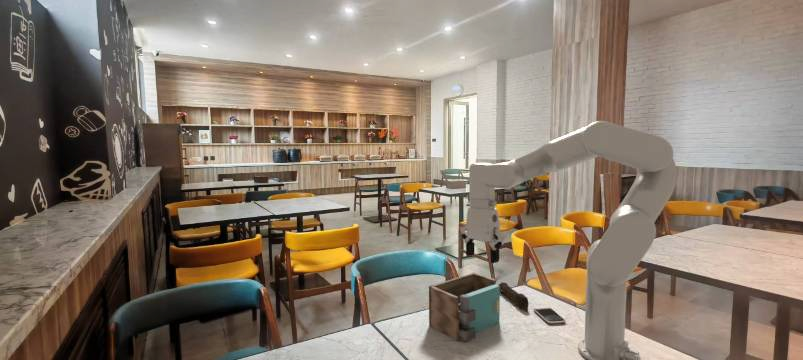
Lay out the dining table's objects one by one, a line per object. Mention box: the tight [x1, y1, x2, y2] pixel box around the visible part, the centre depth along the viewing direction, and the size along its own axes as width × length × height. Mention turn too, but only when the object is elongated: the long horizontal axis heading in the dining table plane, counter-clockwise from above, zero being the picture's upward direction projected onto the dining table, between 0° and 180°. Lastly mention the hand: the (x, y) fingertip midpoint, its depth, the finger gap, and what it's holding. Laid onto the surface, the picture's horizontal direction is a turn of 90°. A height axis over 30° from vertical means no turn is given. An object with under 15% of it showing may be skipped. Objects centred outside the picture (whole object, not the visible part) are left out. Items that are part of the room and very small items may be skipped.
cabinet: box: [428, 272, 497, 343], centre depth 123 cm, size 14×21×13 cm
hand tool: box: [497, 282, 529, 312], centre depth 141 cm, size 19×4×5 cm, turn 9°
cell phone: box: [533, 307, 567, 326], centre depth 128 cm, size 6×11×1 cm, turn 7°
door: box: [460, 283, 501, 333], centre depth 120 cm, size 3×16×12 cm, turn 127°
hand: (482, 258), depth 119 cm, fingers open, 9 cm apart
